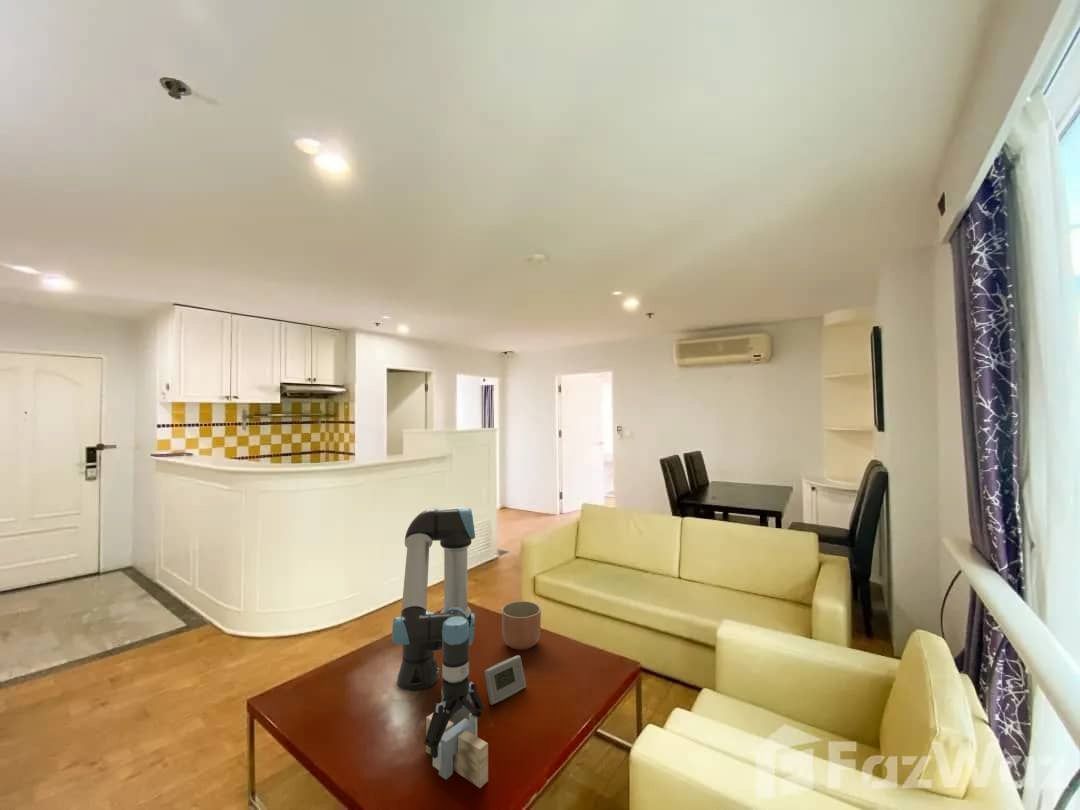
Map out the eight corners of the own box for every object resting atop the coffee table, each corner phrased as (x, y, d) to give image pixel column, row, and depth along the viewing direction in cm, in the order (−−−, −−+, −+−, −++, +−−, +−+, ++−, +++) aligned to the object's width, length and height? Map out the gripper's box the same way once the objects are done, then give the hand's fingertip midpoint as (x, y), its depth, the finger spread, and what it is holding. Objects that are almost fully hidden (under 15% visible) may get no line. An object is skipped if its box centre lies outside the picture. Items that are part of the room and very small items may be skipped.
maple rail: (426, 751, 132) (426, 717, 133) (434, 745, 135) (434, 711, 135) (480, 788, 119) (480, 749, 120) (488, 780, 122) (487, 743, 122)
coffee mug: (474, 725, 144) (474, 693, 144) (442, 732, 141) (442, 699, 141) (468, 700, 157) (468, 671, 157) (439, 706, 154) (439, 676, 154)
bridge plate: (438, 774, 124) (438, 737, 124) (465, 752, 132) (465, 718, 132) (446, 779, 122) (446, 742, 122) (472, 757, 130) (472, 722, 131)
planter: (540, 654, 187) (540, 617, 187) (499, 654, 187) (499, 617, 187) (541, 635, 204) (541, 600, 204) (503, 634, 204) (503, 600, 204)
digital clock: (489, 708, 152) (489, 676, 153) (478, 694, 160) (478, 663, 161) (531, 693, 161) (531, 662, 161) (519, 680, 168) (519, 651, 169)
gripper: (429, 703, 116) (429, 787, 115) (495, 660, 136) (495, 732, 135) (411, 692, 120) (410, 774, 119) (477, 653, 140) (477, 722, 139)
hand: (455, 752), depth 127 cm, fingers open, 13 cm apart
